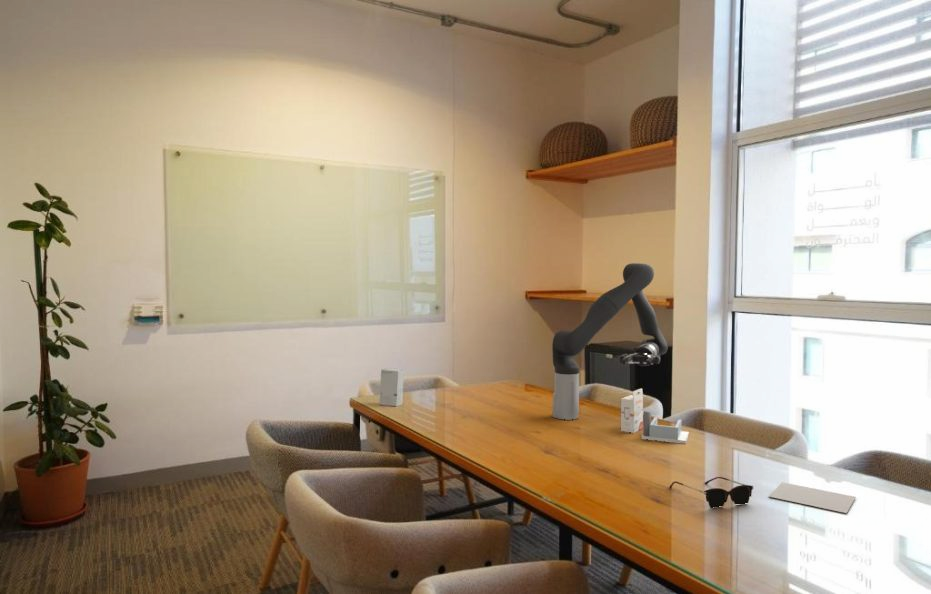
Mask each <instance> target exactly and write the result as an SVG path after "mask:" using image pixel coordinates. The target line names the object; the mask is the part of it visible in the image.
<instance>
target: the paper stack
mask: <svg viewBox="0 0 931 594" xmlns="http://www.w3.org/2000/svg"><path fill="white" fill-rule="evenodd" d="M768 497H770V498H775V499H779V500H783V501H787V502H793V503H797V504H802V505H807V506H812V507H816V508H821V509H824V510H825V509H826V510H830V511H835V512H840V513H844V514H847V513H848V511H849V510H850V508H851V506H852V505H853V503H854V501H855V500H856V496H853V495H847V494H845V493H844V494H843V493H838V492H833V491H828V490H822V489H818V488H814V487H808V486H803V485H798V484H793V483H789V482H781V483H780V484H779V485H777V487H776V488H775V489H774V490H773V491H772V492H771V493H770V494H769V495H768Z"/></svg>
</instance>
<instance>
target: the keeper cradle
mask: <svg viewBox="0 0 931 594" xmlns="http://www.w3.org/2000/svg"><path fill="white" fill-rule="evenodd" d="M682 422H683V421H682V419H680V418H679V419H677V422H676V424H675V426H672V425H660V424H658V417H657V416H654V418H653V419H652V412H651V411H649V410H643V428H642V434H641V440H646V439H648V440H649V441H655V440H657V442H664V441H665V442H666V443H673V442H674V443H675V444H676V443H677V444H681V445H682V444H684V445H686V444H687V442H688V441H687V440H688V438H689V435H690V431H684V430H682ZM674 443H673V444H674Z"/></svg>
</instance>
